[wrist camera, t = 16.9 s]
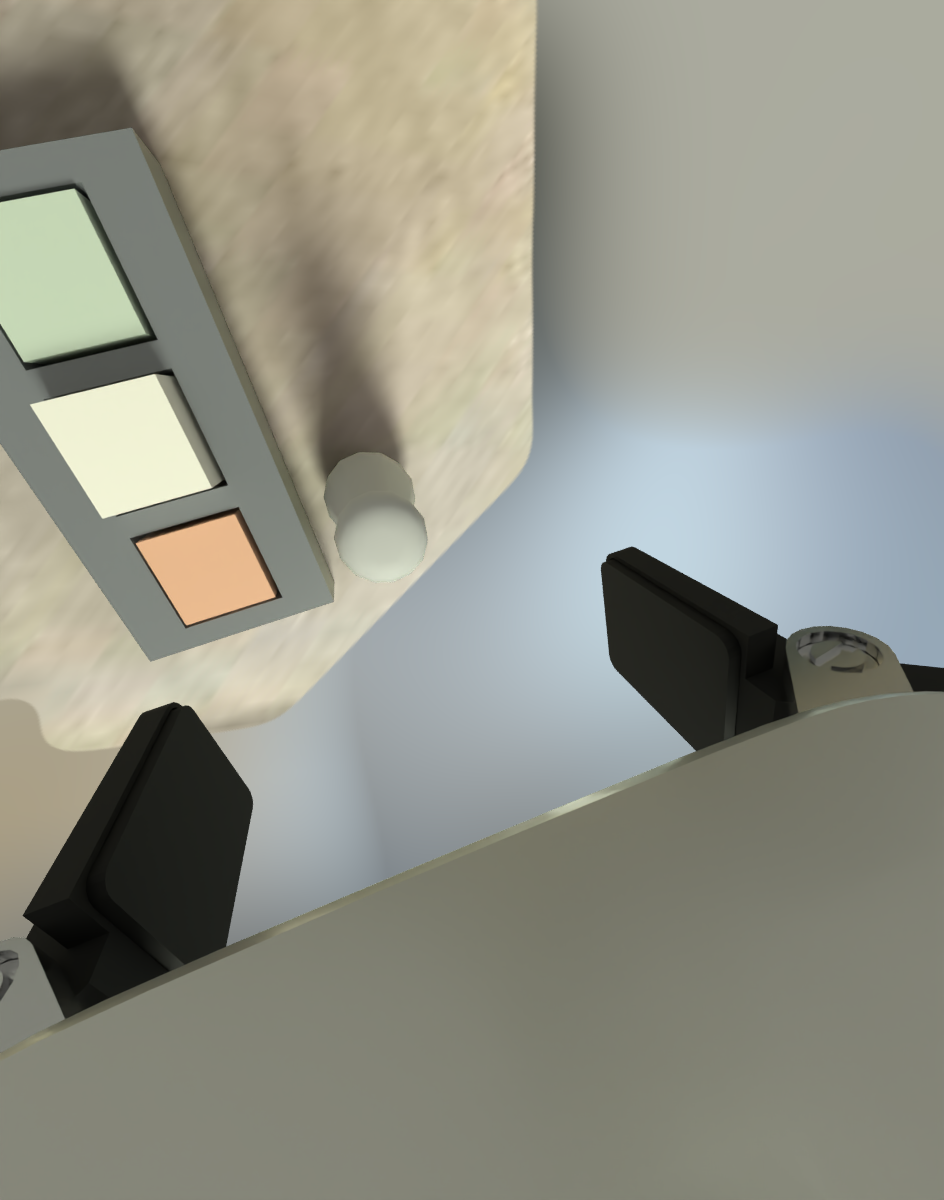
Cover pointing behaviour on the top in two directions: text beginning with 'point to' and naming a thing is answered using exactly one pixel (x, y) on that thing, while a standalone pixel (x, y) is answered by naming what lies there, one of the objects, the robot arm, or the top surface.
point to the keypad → (184, 349)
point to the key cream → (131, 443)
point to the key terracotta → (209, 565)
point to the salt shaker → (375, 517)
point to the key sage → (64, 282)
